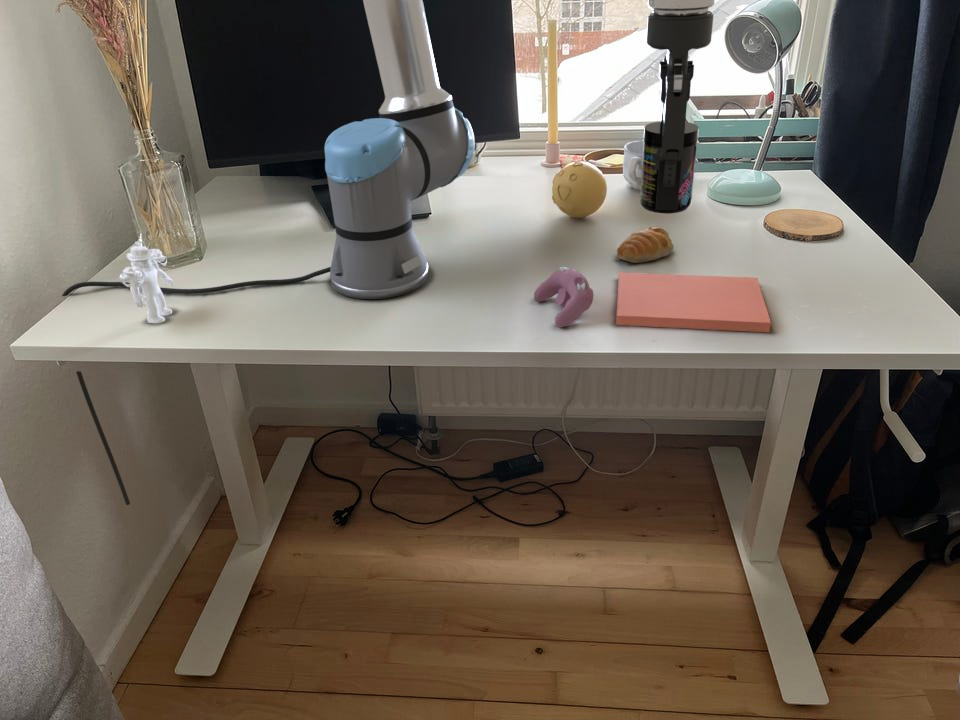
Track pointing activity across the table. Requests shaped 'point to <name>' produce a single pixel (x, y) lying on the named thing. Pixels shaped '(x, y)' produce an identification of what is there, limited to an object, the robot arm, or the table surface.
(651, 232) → the pastry
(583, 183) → the stress ball
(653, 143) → the supplement container
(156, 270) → the hat wearing toy figure
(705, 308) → the foam mat
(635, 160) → the teacup
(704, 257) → the table surface
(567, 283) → the video game controller
